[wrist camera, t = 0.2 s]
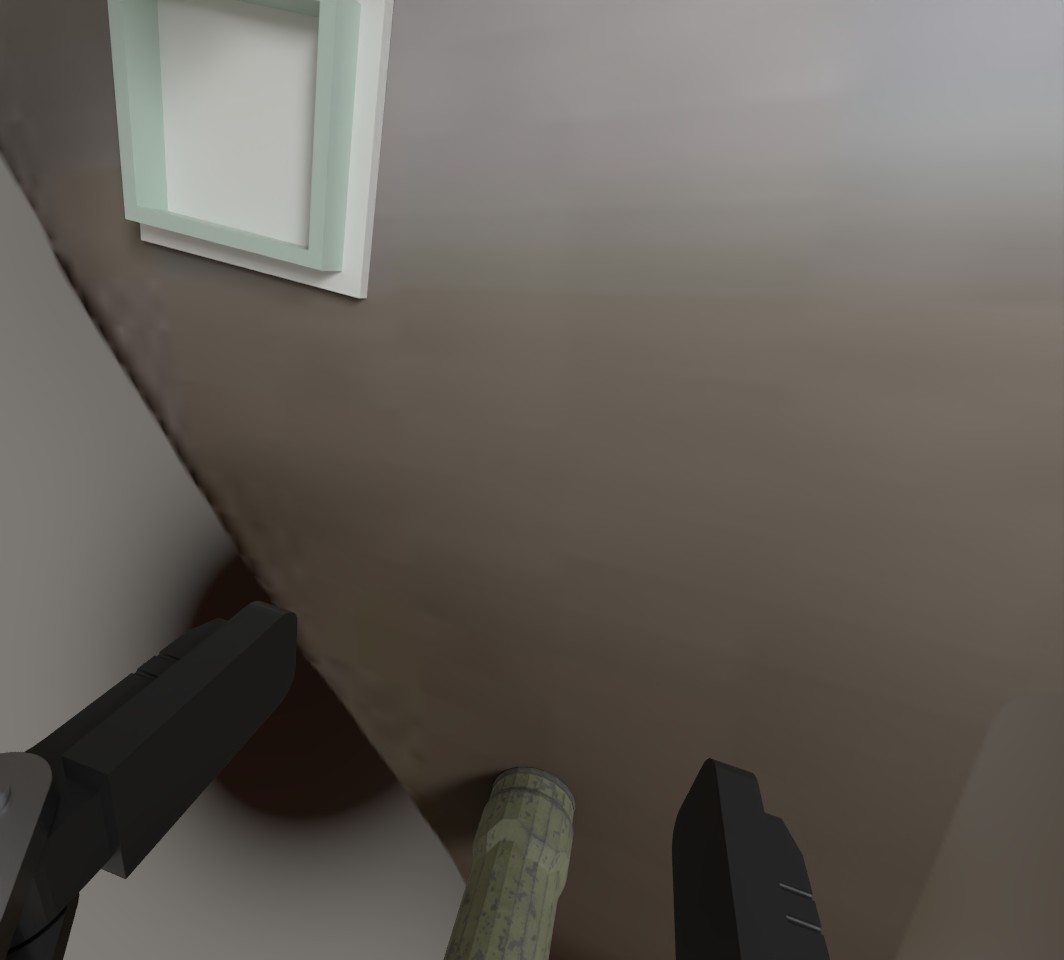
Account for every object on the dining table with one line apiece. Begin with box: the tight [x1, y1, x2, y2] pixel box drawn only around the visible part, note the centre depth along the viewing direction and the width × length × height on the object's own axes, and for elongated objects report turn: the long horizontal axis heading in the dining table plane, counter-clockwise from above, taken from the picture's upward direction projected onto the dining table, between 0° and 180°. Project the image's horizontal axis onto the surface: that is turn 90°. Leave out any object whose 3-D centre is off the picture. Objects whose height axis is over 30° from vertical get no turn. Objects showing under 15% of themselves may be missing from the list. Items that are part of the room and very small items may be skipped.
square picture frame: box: [107, 0, 394, 298], centre depth 33 cm, size 18×18×4 cm
